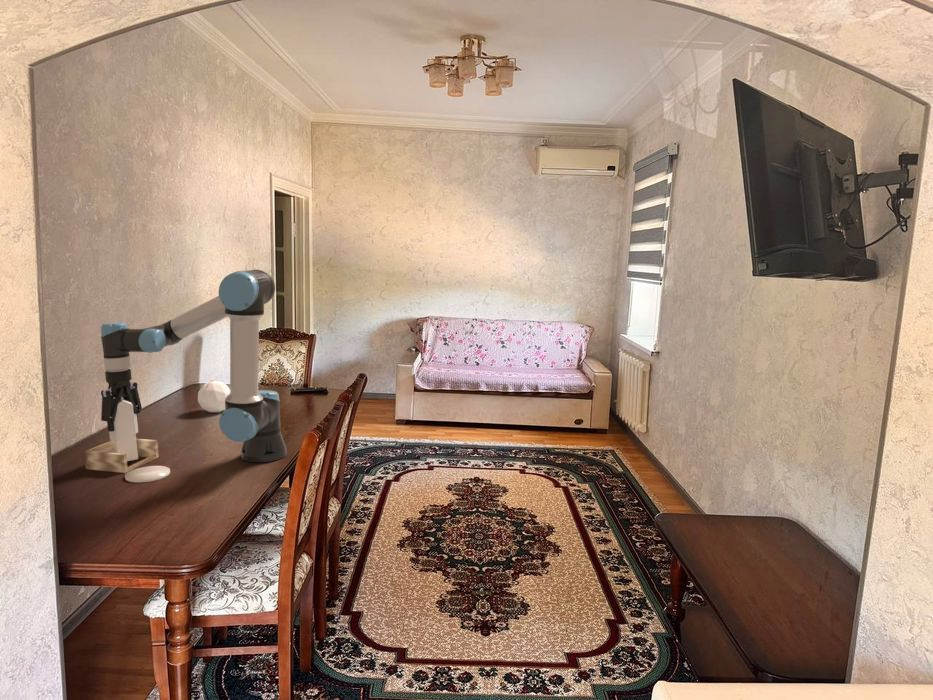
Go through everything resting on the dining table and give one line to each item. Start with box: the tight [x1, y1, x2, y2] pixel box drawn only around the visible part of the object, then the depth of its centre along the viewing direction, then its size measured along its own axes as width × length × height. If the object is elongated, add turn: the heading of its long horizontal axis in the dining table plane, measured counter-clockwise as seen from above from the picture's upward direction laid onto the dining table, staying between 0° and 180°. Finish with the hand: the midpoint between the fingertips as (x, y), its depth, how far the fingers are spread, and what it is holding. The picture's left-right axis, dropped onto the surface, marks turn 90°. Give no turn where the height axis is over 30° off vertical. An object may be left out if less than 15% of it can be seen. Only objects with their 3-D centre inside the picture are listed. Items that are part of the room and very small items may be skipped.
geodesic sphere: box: [197, 379, 230, 413], centre depth 283 cm, size 15×14×14 cm
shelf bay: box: [83, 438, 160, 474], centre depth 219 cm, size 15×16×6 cm
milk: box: [114, 396, 139, 462], centre depth 217 cm, size 6×6×22 cm
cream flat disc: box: [124, 465, 171, 484], centre depth 208 cm, size 13×13×1 cm
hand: (124, 436), depth 218 cm, fingers closed on milk, 8 cm apart
